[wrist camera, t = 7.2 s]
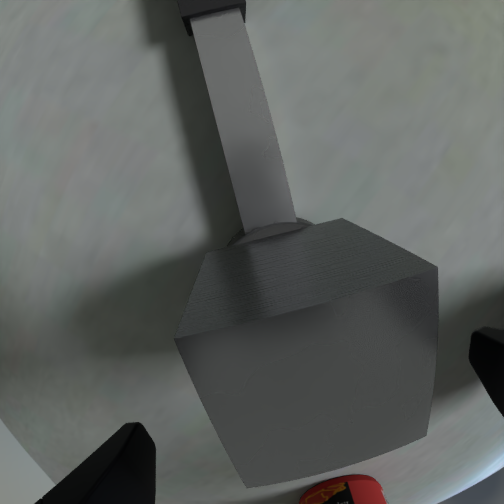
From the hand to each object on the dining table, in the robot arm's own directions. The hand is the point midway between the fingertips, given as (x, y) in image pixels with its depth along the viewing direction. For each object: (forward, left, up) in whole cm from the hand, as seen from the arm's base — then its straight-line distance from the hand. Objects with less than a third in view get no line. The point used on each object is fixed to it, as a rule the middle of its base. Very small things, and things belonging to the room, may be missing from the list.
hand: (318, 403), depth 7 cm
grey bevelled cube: (0, 0, -7) cm, 7 cm away
